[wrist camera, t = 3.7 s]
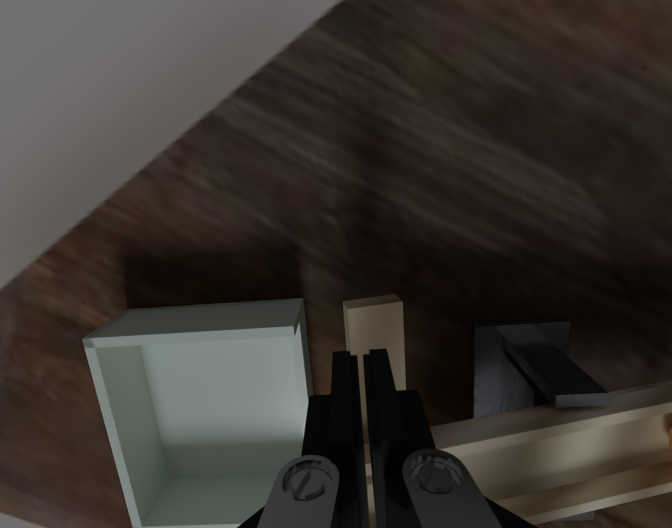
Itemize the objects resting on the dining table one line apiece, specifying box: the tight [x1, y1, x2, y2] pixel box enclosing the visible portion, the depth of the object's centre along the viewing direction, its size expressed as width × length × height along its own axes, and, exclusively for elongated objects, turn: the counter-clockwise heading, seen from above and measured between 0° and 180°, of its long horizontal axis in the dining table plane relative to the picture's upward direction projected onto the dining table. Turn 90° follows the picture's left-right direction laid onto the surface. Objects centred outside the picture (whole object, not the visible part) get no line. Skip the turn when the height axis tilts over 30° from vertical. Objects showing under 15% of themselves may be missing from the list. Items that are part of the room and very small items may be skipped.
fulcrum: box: [471, 318, 608, 521], centre depth 23 cm, size 6×9×7 cm, turn 5°
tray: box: [82, 298, 313, 528], centre depth 25 cm, size 14×12×4 cm
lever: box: [343, 294, 672, 528], centre depth 18 cm, size 22×12×3 cm, turn 94°
